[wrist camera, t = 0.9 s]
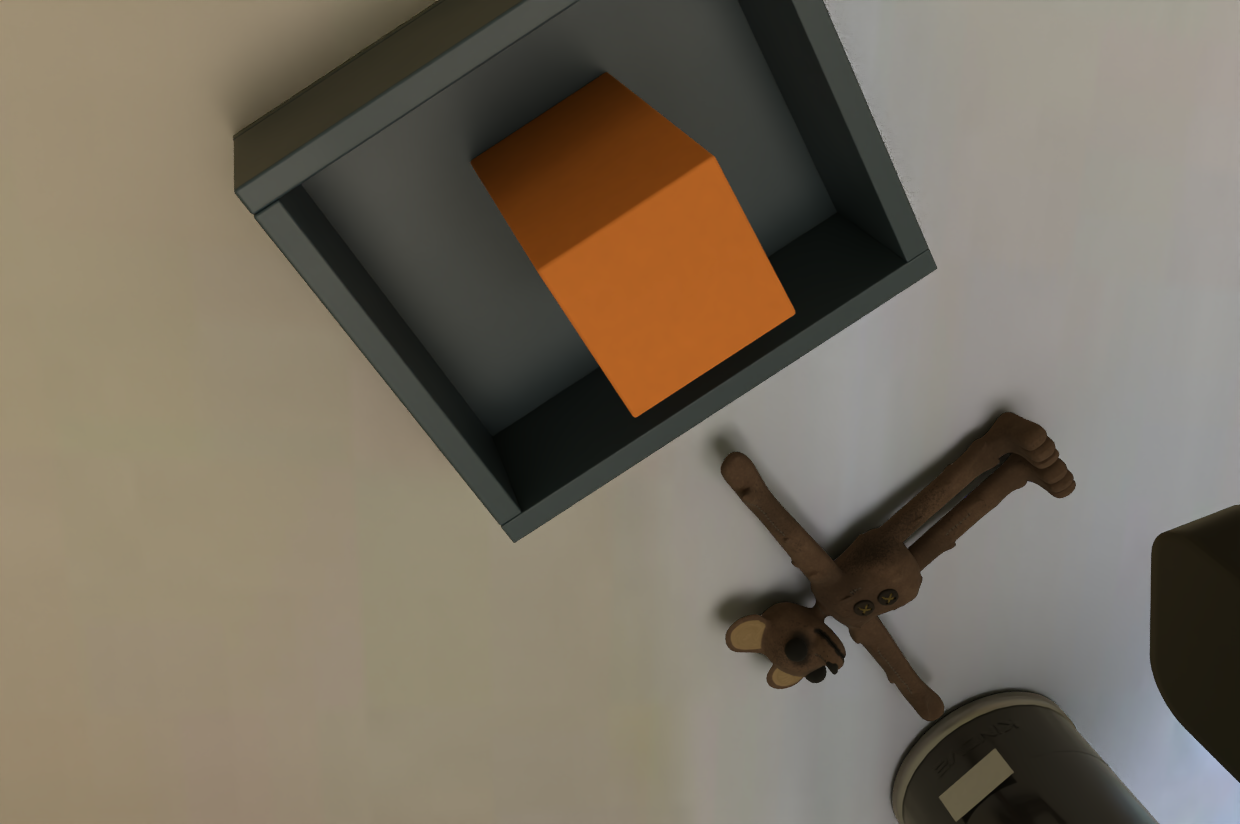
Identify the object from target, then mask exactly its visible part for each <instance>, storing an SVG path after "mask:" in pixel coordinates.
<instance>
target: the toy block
mask: <svg viewBox="0 0 1240 824" xmlns="http://www.w3.org/2000/svg"><path fill="white" fill-rule="evenodd" d="M471 165H472V167H473V168H474V170H475V172H476V173H477V175H478V177H479V178H480V180H481V181H482V183H483V185H484V186H485V188H486V189H487V191H488V193H489V194H490V196H491V198H492V199H493V201H494V202H495V204H496V206H497V207H498V209H499V211H500V212H501V214H502V215H503V217H504V219H505V220H506V222H507V223H508V225H509V227H510V228H511V230H512V232H513V233H514V235H515V236H516V238H517V240H518V241H519V243H520V245H521V246H522V248H523V249H524V251H525V253H526V254H527V256H528V257H529V259H530V261H531V262H532V264H533V266H534V267H535V269H536V270H537V272H538V274H539V275H540V277H541V278H542V280H543V281H544V283H545V284H546V286H547V287H548V289H549V290H550V292H551V293H552V295H553V296H554V298H555V299H556V301H557V302H558V304H559V305H560V307H561V308H562V310H563V311H564V313H565V315H566V316H567V318H568V319H569V321H570V322H571V324H572V325H573V327H574V328H575V330H576V331H577V333H578V334H579V336H580V337H581V339H582V340H583V342H584V343H585V345H586V346H587V348H588V349H589V351H590V352H591V354H592V355H593V357H594V358H595V360H596V362H597V363H598V365H599V366H600V368H601V369H602V371H603V372H604V374H605V375H606V377H607V378H608V380H609V381H610V383H611V384H612V386H613V387H614V389H615V390H616V392H617V393H618V395H619V396H620V398H621V399H622V401H623V402H624V404H625V405H626V407H627V409H628V410H629V412H630V413H631V415H632V416H633V417H638V416H639V415H641V414H642V413H644V412H645V411H647V410H649V409H650V408H652V407H653V406H655V405H656V404H658V403H659V402H661V401H662V400H664V399H665V398H667V397H669V396H670V395H672V394H673V393H675V392H676V391H678V390H679V389H681V388H682V387H684V386H685V385H687V384H689V383H690V382H692V381H693V380H695V379H696V378H698V377H699V376H701V375H702V374H704V373H705V372H707V371H709V370H710V369H712V368H713V367H715V366H716V365H718V364H719V363H721V362H722V361H724V360H725V359H727V358H729V357H730V356H732V355H733V354H735V353H736V352H738V351H739V350H741V349H742V348H744V347H745V346H747V345H749V344H750V343H752V342H753V341H755V340H756V339H758V338H759V337H761V336H762V335H764V334H765V333H767V332H769V331H770V330H772V329H773V328H775V327H776V326H778V325H779V324H781V323H782V322H784V321H785V320H787V319H789V318H790V317H792V316H793V315H794V314H795V309H794V307H793V305H792V303H791V301H790V300H789V298H788V296H787V294H786V292H785V290H784V288H783V286H782V284H781V282H780V280H779V278H778V277H777V275H776V273H775V271H774V269H773V267H772V265H771V263H770V261H769V259H768V257H767V255H766V254H765V252H764V250H763V248H762V246H761V244H760V242H759V240H758V238H757V236H756V234H755V232H754V231H753V229H752V227H751V225H750V223H749V221H748V219H747V217H746V215H745V213H744V211H743V209H742V207H741V206H740V204H739V202H738V200H737V198H736V196H735V194H734V192H733V190H732V188H731V186H730V184H729V183H728V181H727V179H726V177H725V175H724V173H723V171H722V169H721V167H720V165H719V163H718V161H717V160H716V158H715V156H713V155H712V154H711V153H709V152H708V151H707V150H706V149H704V148H703V147H702V146H701V145H699V144H698V143H697V142H695V141H694V140H693V139H692V138H690V137H689V136H688V135H687V134H685V133H684V132H683V131H681V130H680V129H679V128H678V127H676V126H675V125H674V124H673V123H671V122H670V121H669V120H667V119H666V118H665V117H664V116H662V115H661V114H660V113H659V112H657V111H656V110H655V109H653V108H652V107H651V106H650V105H648V104H647V103H646V102H645V101H643V100H642V99H641V98H639V97H638V96H637V95H636V94H634V93H633V92H632V91H631V90H629V89H628V88H627V87H625V86H624V85H623V84H622V83H620V82H619V81H618V80H617V79H615V78H614V77H613V76H611V75H610V74H609V73H608V72H606V73H604V74H602V75H601V76H599V77H598V78H596V79H595V80H593V81H592V82H590V83H589V84H587V85H586V86H584V87H582V88H581V89H579V90H578V91H576V92H575V93H573V94H572V95H570V96H569V97H567V98H566V99H564V100H563V101H561V102H560V103H558V104H557V105H555V106H554V107H552V108H550V109H549V110H547V111H546V112H544V113H543V114H541V115H540V116H538V117H537V118H535V119H534V120H532V121H531V122H529V123H528V124H526V125H525V126H523V127H522V128H520V129H518V130H517V131H515V132H514V133H512V134H511V135H509V136H508V137H506V138H505V139H503V140H502V141H500V142H499V143H497V144H496V145H494V146H493V147H491V148H490V149H488V150H486V151H485V152H483V153H482V154H480V155H479V156H477V157H476V158H474V159H473V160H472V161H471Z"/></svg>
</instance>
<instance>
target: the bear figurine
mask: <svg viewBox="0 0 1240 824" xmlns="http://www.w3.org/2000/svg"><path fill="white" fill-rule="evenodd" d="M1006 453H1011V455H1010V456H1009V457H1008V459H1007V460H1006V461H1005V462H1004V463H1003V464H1002V465H1001V466H1000V467H999V468H998V469H997V470H995V471H994V472H993V473H992V474H991V475H990V476H989V477H988V478H986V479H985V480H984V481H983V482H982V483H981V484H980V485H979V486H977V487H976V488H975V489H974V490H973V491H972V492H971V493H969V494H968V495H967V496H966V497H965V498H964V499H963V500H962V501H960V502H959V503H958V504H957V505H956V506H955V507H954V508H953V509H951V510H950V511H949V512H948V513H947V514H946V515H945V516H944V517H942V518H941V519H940V520H939V521H938V522H937V523H936V524H935V525H933V526H932V527H931V528H930V529H929V530H928V531H927V532H926V533H924V534H923V535H922V536H921V537H920V538H919V539H918V540H916V541H915V542H914V543H913V544H912V545H911V546H910V547H909V548H908V549H907V547H906V546H905V545H904V543H903V542H904V541H905V540H906V539H907V538H908V537H909V536H910V535H911V534H913V533H914V532H915V531H916V530H917V529H918V528H919V527H920V526H922V525H923V524H924V523H925V522H926V521H927V520H928V519H929V518H931V517H932V516H933V515H934V514H935V513H936V512H937V511H938V510H940V509H941V508H942V507H943V506H944V505H945V504H946V503H948V502H949V501H950V500H951V499H952V498H953V497H954V496H956V495H957V494H958V493H959V492H960V491H961V490H962V489H963V488H965V487H966V486H967V485H968V484H969V483H970V482H972V481H973V480H974V479H975V478H976V477H978V476H979V475H980V474H982V473H983V472H985V471H987V470H989V469H992V468H993V467H995V466H996V465H998V464H999V462H1000V460H999V458H1000V457H1001V456H1002V455H1004V454H1006ZM1058 457H1059V452H1058V451H1057V449H1056V448H1055V444H1054V442H1053V441H1052V440H1051V439H1050V438H1049V437H1048V436H1047V433H1046V431H1045V430H1044V428H1042V427H1041V426H1040V425H1038V424H1036V423H1034V422H1032V421H1029V420H1026V419H1024V418H1022V417H1020V416H1018V415H1016V414H1014V413H1011V412H1005V413H1003V414H1002V415H1000V417H999V418H998V419H997V420H996V421H995V423H994V424H993V426H992V427H991V429H990V430H989V431H988V432H987V433H986V434H985V435H984V436H983V437H982V438H979V439H976V440H975V441H974V442H973V443H972V444H971V445H970V446H969V448H968V449H967V450H966V451H965V452H964V453H963V454H962V455H961V456H960V457H959V458H958V459H957V460H956V461H955V462H954V463H953V464H949V465H948V466H947V467H946V468H945V469H944V471H943V472H942V473H941V474H940V475H939V476H938V477H937V478H935V479H934V480H933V481H932V482H931V483H930V484H929V485H927V486H926V487H925V488H924V489H923V490H922V491H921V492H919V493H918V494H917V495H916V496H915V497H914V498H913V499H911V500H910V501H909V502H908V503H907V504H906V505H905V506H903V507H902V508H901V509H900V510H899V511H898V512H897V513H895V514H894V515H893V516H892V517H891V518H890V519H889V520H888V521H886V522H885V523H884V524H883V525H882V526H881V527H879V528H874V529H871V530H869V531H867V532H865V533H864V534H860V535H859V536H858V537H857V538H856V539H855V541H854V542H853V543H852V544H851V545H850V546H849V547H848V548H847V549H846V550H845V551H844V552H843V553H842V554H841V555H840V556H839V557H838V558H837V559H835V560H834V561H833V560H832V559H831V558H830V556H829V555H828V554H827V553H826V552H825V551H824V550H823V549H822V547H821V546H820V545H819V544H818V543H817V542H816V541H815V540H814V539H813V538H812V537H811V536H810V535H809V534H808V533H807V532H806V531H805V530H804V529H803V528H802V527H801V525H800V524H799V523H798V522H797V521H796V520H795V519H794V518H793V517H792V516H791V515H790V514H789V513H788V512H787V511H786V510H785V508H784V507H783V506H782V505H781V504H780V503H779V502H778V501H777V499H776V498H775V497H774V496H773V494H772V493H771V492H770V490H769V489H768V488H767V486H766V485H765V483H764V481H763V480H762V478H761V476H760V474H759V473H758V471H757V469H756V467H755V466H754V464H753V463H752V461H751V460H750V459H749V458H748V457H747V456H746V455H744V454H743V453H740V452H732V453H730V454H728V455H727V457H726V458H725V459H724V461H723V463H722V465H721V474H722V476H723V477H724V479H725V480H726V482H727V483H728V484H729V485H730V486H731V488H732V489H733V490H734V491H735V492H736V494H737V495H738V496H739V497H740V499H741V500H742V501H743V502H744V503H745V505H746V506H747V507H748V508H749V509H750V510H751V511H752V512H753V513H754V514H755V515H756V516H757V517H758V518H759V520H760V521H761V522H762V523H763V524H764V525H765V527H766V528H767V529H768V530H769V531H770V533H771V534H772V535H773V536H774V538H775V539H776V540H777V541H778V542H779V544H780V545H781V546H782V547H783V548H784V550H785V551H786V552H787V553H788V555H789V556H790V557H791V559H792V564H793V565H794V566H795V567H797V568H799V569H800V570H801V571H802V572H803V573H804V575H805V576H806V577H807V578H808V579H809V580H810V582H811V591H812V593H813V595H814V596H815V598H816V604H815V606H814V607H812V608H807V607H804V606H801V605H799V604H795V603H790V602H782V603H777V604H775V605H773V606H771V607H769V608H768V609H767V610H766V611H765V612H764V613H763V614H762V615H761V616H760V615H757V614H752V615H747V616H745V617H742V618H740V619H738V620H737V621H736V622H734V623H733V624H732V625H731V626H730V627H729V629H728V630H727V633H726V638H725V640H726V644H727V646H728V647H729V648H730V650H732V651H735V652H754V653H762V654H764V655H765V656H767V657H768V659H769V660H770V661H771V662H772V663H773V665H772V667H771V669H770V670H769V672H768V674H767V683H768V684H769V686H771V687H773V688H776V689H784V688H788V687H791V686H793V685H795V684H797V683H798V682H799V681H800V680H801V679H802V678H803V677H806V679H807V680H808V681H810V682H812V683H819V682H821V681H822V680H824V678H825V676H826V667H825V666H827V667H828V669H829V670H830V671H831V672H832V673H833V674H834V675H835V674H836V673H837V672H838V669H840V668H841V667H842V666H843V664H844V658H845V656H846V651H845V648H844V646H843V644H842V642H841V640H840V639H839V638H838V637H837V635H836V634H835V633H834V632H833V631H832V630H831V629H830V628H829V627H828V626H827V625H826V624H825V623H824V619H825V618H826V617H827V616H832V617H834V618H835V619H836V620H837V621H839V622H840V623H842V624H844V625H846V626H847V627H848V628H849V633H850V635H851V637H852V639H853V640H854V641H855V642H856V643H857V644H859V643H861V644H862V645H863V646H864V647H865V648H866V649H867V650H868V652H869V653H870V654H871V655H872V656H873V657H874V659H875V660H876V661H877V662H878V663H879V665H880V666H881V667H882V668H883V670H884V671H885V673H886V675H887V677H888V680H889V681H890V683H895V685H896V686H897V687H898V689H899V690H900V692H901V693H902V694H903V696H904V697H905V698H906V699H907V701H908V702H909V703H910V704H911V705H912V706H913V708H914V709H915V710H916V712H917V713H918V714H919V715H920V717H922V718H923V719H925V720H926V721H934V720H936V719H938V718H939V717H941V716H942V715H943V713H944V704H943V702H942V700H941V698H940V697H939V696H938V695H937V694H936V693H935V692H934V691H933V690H932V689H930V688H929V687H928V686H927V685H926V684H925V683H924V682H923V681H922V680H921V679H920V678H919V677H918V675H917V674H916V673H915V671H914V670H913V669H912V667H911V666H910V664H909V663H908V661H907V660H906V658H905V657H904V655H903V654H902V652H901V651H900V649H899V648H898V646H897V645H896V643H895V641H894V640H893V638H892V637H891V635H890V634H889V632H888V631H887V629H886V628H885V626H884V625H883V623H882V622H881V621H880V619H879V618H878V615H880V614H883V613H886V612H889V611H891V610H896V609H897V608H899V607H901V606H904V605H905V604H907V603H908V602H910V601H912V600H913V599H914V598H915V597H916V596H917V594H918V591H919V588H920V585H921V583H922V576H921V574H920V572H921V571H922V570H923V569H924V568H925V567H926V566H927V565H928V564H930V563H931V562H932V561H933V560H934V559H935V558H936V557H938V556H939V555H940V554H942V553H943V552H945V551H947V550H949V549H952V548H953V547H954V546H955V545H956V543H955V541H956V540H957V539H958V538H959V537H960V536H961V535H963V534H964V533H965V532H966V531H967V530H968V529H969V528H970V527H972V526H973V525H974V524H975V523H976V522H977V521H978V520H980V519H981V518H982V517H983V516H984V515H986V514H987V513H988V512H989V511H991V510H992V509H993V508H995V507H996V506H997V505H998V504H999V503H1000V502H1001V501H1002V500H1003V499H1004V498H1005V497H1006V496H1007V495H1008V494H1010V493H1011V492H1012V491H1014V490H1016V489H1019V488H1022V487H1023V486H1025V485H1026V483H1027V481H1031V482H1033V483H1036V484H1038V485H1039V486H1041V487H1042V488H1044V489H1045V490H1046V491H1048V492H1049V493H1050V494H1051V495H1053V496H1054V497H1056V498H1064V497H1066V496H1068V495H1069V494H1070V493H1072V492H1073V490H1074V489H1075V486H1076V483H1075V481H1074V480H1073V479H1074V477H1073V474H1072V473H1071V472H1070V471H1069V470H1068V469H1067V466H1066V464H1065V463H1064V462H1063V461H1062V460H1061V459H1060V458H1058Z"/></svg>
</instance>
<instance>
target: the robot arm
mask: <svg viewBox="0 0 1240 824" xmlns="http://www.w3.org/2000/svg"><path fill="white" fill-rule="evenodd" d="M1150 663H1151V668H1152V672H1153V676H1154V679H1155V682H1156V684H1157V687H1158V689H1159V691H1160V693H1161V695H1162V697H1163V699H1164V701H1165V703H1166V704H1167V706H1168V708H1169V709H1170V711H1171V712H1172V714H1173V715H1174V716H1175V717H1176V719H1177V720H1178V721H1179V722H1180V723H1181V725H1182V726H1183V727H1184V728H1185V729H1186V730H1187V731H1188V732H1189V733H1190V734H1191V735H1192V736H1193V737H1194V738H1195V739H1196V740H1197V741H1198V742H1199V743H1200V744H1201V745H1202V746H1203V747H1204V748H1205V749H1206V750H1207V751H1208V752H1209V753H1210V754H1211V755H1212V756H1213V757H1214V758H1215V759H1216V760H1217V761H1218V762H1219V763H1220V764H1221V765H1222V766H1223V767H1224V768H1225V769H1226V770H1227V771H1228V772H1229V773H1230V774H1231V775H1232V776H1233V777H1234V778H1235V779H1236V780H1237V781H1238V782H1239V783H1240V505H1234V506H1231V507H1229V508H1226V509H1223V510H1221V511H1218V512H1216V513H1213V514H1210V515H1208V516H1205V517H1203V518H1200V519H1197V520H1195V521H1192V522H1190V523H1187V524H1185V525H1182V526H1179V527H1177V528H1174V529H1172V530H1169V531H1166V532H1164V533H1161V534H1160V535H1159V536H1157V537H1156V539H1155V541H1154V543H1153V546H1152V553H1151V610H1150ZM892 805H893V810H894V814H895V816H896V819H897V820H898V822H899V824H1159V823H1158V822H1157V820H1156V819H1155V818H1154V817H1153V816H1152V815H1151V814H1150V813H1149V811H1148V810H1147V809H1146V808H1145V807H1144V806H1143V805H1142V804H1141V802H1140V801H1139V800H1138V799H1137V798H1136V797H1135V796H1134V795H1133V793H1132V792H1131V791H1130V790H1129V789H1128V788H1127V787H1126V786H1125V784H1124V783H1123V782H1122V781H1121V780H1120V779H1119V778H1118V776H1117V775H1116V774H1115V773H1114V772H1113V771H1112V770H1111V768H1110V767H1109V766H1108V765H1107V764H1106V762H1105V761H1104V760H1103V759H1102V758H1101V757H1100V756H1099V755H1098V753H1097V752H1096V751H1095V750H1094V749H1093V748H1092V747H1091V746H1090V745H1089V743H1088V742H1087V741H1086V740H1085V739H1084V738H1083V737H1082V736H1081V734H1080V733H1079V732H1078V731H1077V730H1076V728H1075V726H1074V724H1073V722H1072V721H1071V720H1070V719H1069V717H1068V716H1067V715H1066V714H1065V713H1064V712H1063V711H1062V710H1061V708H1060V707H1059V706H1058V705H1057V704H1055V703H1054V702H1053V701H1051V700H1050V699H1048V698H1046V697H1044V696H1042V695H1039V694H1035V693H1030V692H1004V693H999V694H994V695H990V696H986V697H984V698H981V699H978V700H975V701H973V702H971V703H968V704H966V705H964V706H962V707H960V708H959V709H957V710H955V711H954V712H952V713H950V714H949V715H947V716H946V717H944V718H943V719H942V720H940V721H939V722H938V723H936V724H935V725H934V726H933V727H932V728H931V729H929V730H928V731H927V732H926V733H925V734H924V735H923V736H922V737H921V738H920V739H919V741H918V742H917V743H916V744H915V745H914V746H913V748H912V749H911V751H910V752H909V753H908V755H907V756H906V758H905V760H904V761H903V763H902V765H901V767H900V769H899V771H898V774H897V776H896V779H895V783H894V787H893V793H892Z"/></svg>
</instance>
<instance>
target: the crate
mask: <svg viewBox="0 0 1240 824" xmlns="http://www.w3.org/2000/svg"><path fill="white" fill-rule="evenodd" d="M606 72H608V73H609V74H610V75H611V76H613V77H614V78H615V79H617V80H618V81H619V82H620V83H622V84H623V85H624V86H625V87H627V88H628V89H629V90H631V91H632V92H633V93H634V94H636V95H637V96H638V97H639V98H641V99H642V100H643V101H645V102H646V103H647V104H648V105H650V106H651V107H652V108H653V109H655V110H656V111H657V112H659V113H660V114H661V115H662V116H664V117H665V118H666V119H667V120H669V121H670V122H671V123H673V124H674V125H675V126H676V127H678V128H679V129H680V130H681V131H683V132H684V133H685V134H687V135H688V136H689V137H690V138H692V139H693V140H694V141H695V142H697V143H698V144H699V145H701V146H702V147H703V148H704V149H706V150H707V151H708V152H709V153H711V154H712V155H713V156H715V158H716V160H717V161H718V163H719V165H720V167H721V169H722V171H723V173H724V175H725V177H726V179H727V181H728V183H729V184H730V186H731V188H732V190H733V192H734V194H735V196H736V198H737V200H738V202H739V204H740V206H741V207H742V209H743V211H744V213H745V215H746V217H747V219H748V221H749V223H750V225H751V227H752V229H753V231H754V232H755V234H756V236H757V238H758V240H759V242H760V244H761V246H762V248H763V250H764V252H765V254H766V255H767V257H768V259H769V261H770V263H771V265H772V267H773V269H774V271H775V273H776V275H777V277H778V278H779V280H780V282H781V284H782V286H783V288H784V290H785V292H786V294H787V296H788V298H789V300H790V301H791V303H792V305H793V307H794V309H795V314H794V315H793V316H792V317H790V318H789V319H787V320H785V321H784V322H782V323H781V324H779V325H778V326H776V327H775V328H773V329H772V330H770V331H769V332H767V333H765V334H764V335H762V336H761V337H759V338H758V339H756V340H755V341H753V342H752V343H750V344H749V345H747V346H745V347H744V348H742V349H741V350H739V351H738V352H736V353H735V354H733V355H732V356H730V357H729V358H727V359H725V360H724V361H722V362H721V363H719V364H718V365H716V366H715V367H713V368H712V369H710V370H709V371H707V372H705V373H704V374H702V375H701V376H699V377H698V378H696V379H695V380H693V381H692V382H690V383H689V384H687V385H685V386H684V387H682V388H681V389H679V390H678V391H676V392H675V393H673V394H672V395H670V396H669V397H667V398H665V399H664V400H662V401H661V402H659V403H658V404H656V405H655V406H653V407H652V408H650V409H649V410H647V411H645V412H644V413H642V414H641V415H639V416H638V417H633V416H632V415H631V413H630V412H629V410H628V409H627V407H626V405H625V404H624V402H623V401H622V399H621V398H620V396H619V395H618V393H617V392H616V390H615V389H614V387H613V386H612V384H611V383H610V381H609V380H608V378H607V377H606V375H605V374H604V372H603V371H602V369H601V368H600V366H599V365H598V363H597V362H596V360H595V358H594V357H593V355H592V354H591V352H590V351H589V349H588V348H587V346H586V345H585V343H584V342H583V340H582V339H581V337H580V336H579V334H578V333H577V331H576V330H575V328H574V327H573V325H572V324H571V322H570V321H569V319H568V318H567V316H566V315H565V313H564V311H563V310H562V308H561V307H560V305H559V304H558V302H557V301H556V299H555V298H554V296H553V295H552V293H551V292H550V290H549V289H548V287H547V286H546V284H545V283H544V281H543V280H542V278H541V277H540V275H539V274H538V272H537V270H536V269H535V267H534V266H533V264H532V262H531V261H530V259H529V257H528V256H527V254H526V253H525V251H524V249H523V248H522V246H521V245H520V243H519V241H518V240H517V238H516V236H515V235H514V233H513V232H512V230H511V228H510V227H509V225H508V223H507V222H506V220H505V219H504V217H503V215H502V214H501V212H500V211H499V209H498V207H497V206H496V204H495V202H494V201H493V199H492V198H491V196H490V194H489V193H488V191H487V189H486V188H485V186H484V185H483V183H482V181H481V180H480V178H479V177H478V175H477V173H476V172H475V170H474V168H473V167H472V165H471V161H472V160H473V159H474V158H476V157H477V156H479V155H480V154H482V153H483V152H485V151H486V150H488V149H490V148H491V147H493V146H494V145H496V144H497V143H499V142H500V141H502V140H503V139H505V138H506V137H508V136H509V135H511V134H512V133H514V132H515V131H517V130H518V129H520V128H522V127H523V126H525V125H526V124H528V123H529V122H531V121H532V120H534V119H535V118H537V117H538V116H540V115H541V114H543V113H544V112H546V111H547V110H549V109H550V108H552V107H554V106H555V105H557V104H558V103H560V102H561V101H563V100H564V99H566V98H567V97H569V96H570V95H572V94H573V93H575V92H576V91H578V90H579V89H581V88H582V87H584V86H586V85H587V84H589V83H590V82H592V81H593V80H595V79H596V78H598V77H599V76H601V75H602V74H604V73H606ZM233 140H234V192H235V194H236V195H237V197H238V198H239V199H240V200H241V202H242V203H243V204H244V205H245V207H246V208H247V209H248V210H249V212H250V213H252V214H254V218H255V219H256V221H257V222H258V223H259V224H260V226H261V227H262V228H263V229H264V231H265V232H266V233H267V234H268V236H269V237H270V238H271V239H272V241H273V242H274V243H275V244H276V246H277V247H278V248H279V249H280V251H281V252H282V253H283V254H284V256H285V257H286V258H287V259H288V261H289V262H290V263H291V264H292V266H293V267H294V268H295V269H296V271H297V272H298V273H299V274H300V276H301V277H302V278H303V279H304V281H305V282H306V283H307V284H308V286H309V287H310V288H311V289H312V291H313V292H314V293H315V294H316V296H317V297H318V298H319V299H320V301H321V302H322V303H323V304H324V306H325V307H326V308H327V309H328V311H329V312H330V313H331V314H332V316H333V317H334V318H335V319H336V321H337V322H338V323H339V324H340V326H341V327H342V328H343V329H344V331H345V332H346V333H347V334H348V336H349V337H350V338H351V339H352V341H353V342H354V343H355V344H356V346H357V347H358V348H359V350H360V351H361V352H362V353H363V355H364V356H365V357H366V358H367V360H368V361H369V362H370V363H371V365H372V366H373V367H374V368H375V370H376V371H377V372H378V373H379V375H380V376H381V377H382V378H383V380H384V381H385V382H386V383H387V385H388V386H389V387H390V388H391V390H392V391H393V392H394V393H395V395H396V396H397V397H398V398H399V400H400V401H401V402H402V403H403V405H404V406H405V407H406V408H407V410H408V411H409V412H410V413H411V415H412V416H413V417H414V418H415V420H416V421H417V422H418V423H419V425H420V426H421V427H422V428H423V430H424V431H425V432H426V433H427V435H428V436H429V437H430V438H431V440H432V441H433V442H434V443H435V445H436V446H437V447H438V448H439V450H440V451H441V452H442V453H443V455H444V456H445V457H446V458H447V460H448V461H449V462H450V463H451V465H452V466H453V467H454V468H455V470H456V471H457V472H458V473H459V475H460V476H461V477H462V478H463V480H464V481H465V482H466V483H467V485H468V486H469V487H470V488H471V490H472V491H473V492H474V493H475V495H476V496H477V497H478V498H479V500H480V501H481V502H482V503H483V505H484V506H485V507H486V508H487V510H488V511H489V512H490V513H491V515H492V516H493V517H494V518H495V520H496V521H497V522H498V523H499V524H500V525H501V527H502V529H503V530H504V531H505V532H506V534H507V535H508V536H509V537H510V539H511V540H512V541H513V542H514V543H515V542H517V541H518V540H520V539H521V538H523V537H525V536H526V535H528V534H529V533H531V532H532V531H534V530H535V529H537V528H538V527H540V526H541V525H543V524H545V523H546V522H548V521H549V520H551V519H552V518H554V517H555V516H557V515H558V514H560V513H561V512H563V511H565V510H566V509H568V508H569V507H571V506H572V505H574V504H575V503H577V502H578V501H580V500H582V499H583V498H585V497H586V496H588V495H589V494H591V493H592V492H594V491H595V490H597V489H598V488H600V487H602V486H603V485H605V484H606V483H608V482H609V481H611V480H612V479H614V478H615V477H617V476H618V475H620V474H622V473H623V472H625V471H626V470H628V469H629V468H631V467H632V466H634V465H635V464H637V463H639V462H640V461H642V460H643V459H645V458H646V457H648V456H649V455H651V454H652V453H654V452H655V451H657V450H659V449H660V448H662V447H663V446H665V445H666V444H668V443H669V442H671V441H672V440H674V439H675V438H677V437H679V436H680V435H682V434H683V433H685V432H686V431H688V430H689V429H691V428H692V427H694V426H696V425H697V424H699V423H700V422H702V421H703V420H705V419H706V418H708V417H709V416H711V415H712V414H714V413H716V412H717V411H719V410H720V409H722V408H723V407H725V406H726V405H728V404H729V403H731V402H732V401H734V400H736V399H737V398H739V397H740V396H742V395H743V394H745V393H746V392H748V391H749V390H751V389H752V388H754V387H756V386H757V385H759V384H760V383H762V382H763V381H765V380H766V379H768V378H769V377H771V376H773V375H774V374H776V373H777V372H779V371H780V370H782V369H783V368H785V367H786V366H788V365H789V364H791V363H793V362H794V361H796V360H797V359H799V358H800V357H802V356H803V355H805V354H806V353H808V352H809V351H811V350H813V349H814V348H816V347H817V346H819V345H820V344H822V343H823V342H825V341H826V340H828V339H830V338H831V337H833V336H834V335H836V334H837V333H839V332H840V331H842V330H843V329H845V328H846V327H848V326H850V325H851V324H853V323H854V322H856V321H857V320H859V319H860V318H862V317H863V316H865V315H866V314H868V313H870V312H871V311H873V310H874V309H876V308H877V307H879V306H880V305H882V304H883V303H885V302H887V301H888V300H890V299H891V298H893V297H894V296H896V295H897V294H899V293H900V292H902V291H903V290H905V289H907V288H908V287H910V286H911V285H913V284H914V283H916V282H917V281H919V280H920V279H922V278H923V277H925V276H927V275H928V274H930V273H931V272H933V271H934V270H936V269H937V266H936V264H935V262H934V259H933V257H932V255H931V252H930V250H929V249H928V245H927V243H926V241H925V238H924V236H923V234H922V231H921V229H920V227H919V224H918V222H917V219H916V217H915V215H914V212H913V210H912V208H911V205H910V203H909V201H908V198H907V196H906V194H905V191H904V189H903V187H902V184H901V182H900V180H899V177H898V175H897V173H896V170H895V168H894V166H893V163H892V161H891V159H890V156H889V154H888V152H887V149H886V147H885V144H884V142H883V140H882V137H881V135H880V133H879V130H878V128H877V126H876V123H875V121H874V119H873V116H872V114H871V112H870V109H869V107H868V105H867V102H866V100H865V98H864V95H863V93H862V91H861V88H860V86H859V84H858V81H857V79H856V76H855V74H854V72H853V69H852V67H851V65H850V62H849V60H848V58H847V55H846V53H845V51H844V48H843V46H842V44H841V41H840V39H839V37H838V34H837V32H836V30H835V27H834V25H833V23H832V20H831V18H830V16H829V13H828V11H827V9H826V6H825V4H824V1H823V0H439V1H437V2H436V3H434V4H433V5H431V6H430V7H428V8H427V9H425V10H424V11H422V12H420V13H419V14H417V15H416V16H414V17H413V18H411V19H410V20H408V21H407V22H405V23H404V24H402V25H401V26H399V27H398V28H396V29H395V30H393V31H392V32H390V33H389V34H387V35H386V36H384V37H383V38H381V39H380V40H378V41H377V42H375V43H373V44H372V45H370V46H369V47H367V48H366V49H364V50H363V51H361V52H360V53H358V54H357V55H355V56H354V57H352V58H351V59H349V60H348V61H346V62H345V63H343V64H342V65H340V66H339V67H337V68H336V69H334V70H333V71H331V72H330V73H328V74H326V75H325V76H323V77H322V78H320V79H319V80H317V81H316V82H314V83H313V84H311V85H310V86H308V87H307V88H305V89H304V90H302V91H301V92H299V93H298V94H296V95H295V96H293V97H292V98H290V99H289V100H287V101H286V102H284V103H283V104H281V105H279V106H278V107H276V108H275V109H273V110H272V111H270V112H269V113H267V114H266V115H264V116H263V117H261V118H260V119H258V120H257V121H255V122H254V123H252V124H251V125H249V126H248V127H246V128H245V129H243V130H242V131H240V132H239V133H237V134H236V135H234V136H233Z"/></svg>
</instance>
